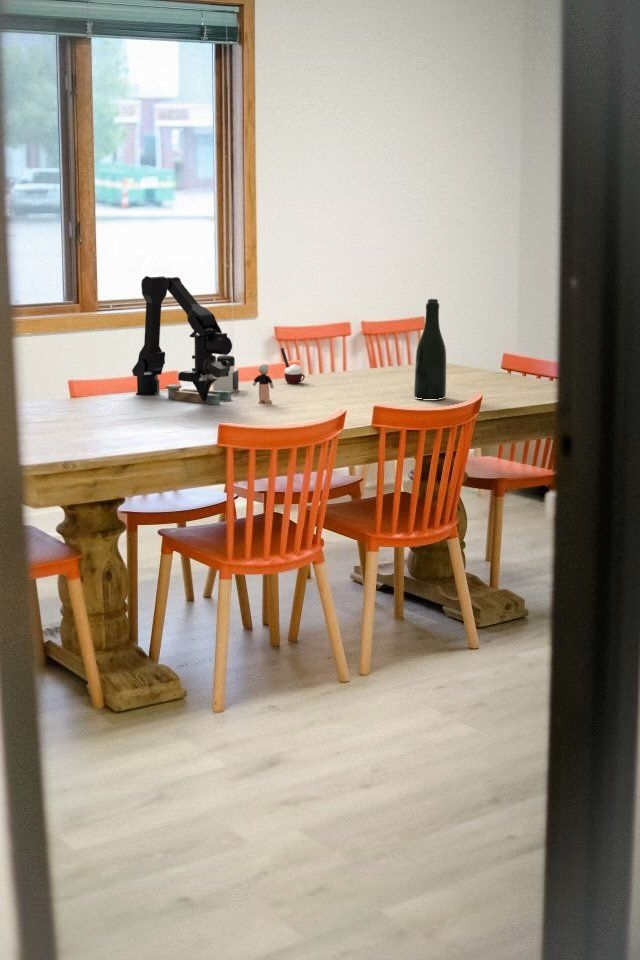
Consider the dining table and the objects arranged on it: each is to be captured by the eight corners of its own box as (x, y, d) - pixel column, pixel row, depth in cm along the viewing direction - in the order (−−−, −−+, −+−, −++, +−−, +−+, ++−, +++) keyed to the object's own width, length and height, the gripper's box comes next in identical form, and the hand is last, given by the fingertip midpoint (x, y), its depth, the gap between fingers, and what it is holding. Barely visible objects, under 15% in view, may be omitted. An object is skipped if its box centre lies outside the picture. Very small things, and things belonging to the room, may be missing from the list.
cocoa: (306, 385, 434) (309, 351, 431) (292, 386, 431) (294, 352, 427) (291, 380, 441) (293, 347, 438) (277, 381, 438) (279, 348, 435)
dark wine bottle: (451, 398, 407) (455, 299, 399) (432, 402, 399) (435, 301, 392) (427, 394, 414) (430, 296, 406) (407, 398, 406) (410, 298, 398)
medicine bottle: (233, 392, 415) (232, 357, 412) (213, 391, 416) (212, 356, 414) (238, 389, 422) (238, 354, 419) (218, 388, 423) (218, 354, 420)
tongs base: (163, 398, 403) (163, 386, 402) (170, 395, 408) (169, 384, 407) (225, 402, 397) (225, 390, 396) (231, 399, 402) (230, 387, 401)
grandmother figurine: (276, 402, 397) (276, 363, 394) (272, 404, 394) (272, 365, 391) (254, 401, 400) (254, 362, 397) (250, 403, 396) (250, 364, 393)
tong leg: (174, 399, 401) (174, 391, 400) (179, 398, 403) (178, 390, 402) (215, 404, 393) (215, 395, 392) (220, 403, 395) (220, 394, 394)
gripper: (203, 356, 378) (204, 406, 381) (241, 351, 393) (241, 399, 396) (176, 354, 384) (177, 403, 387) (214, 349, 399) (215, 396, 402)
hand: (203, 400), depth 393 cm, fingers closed
